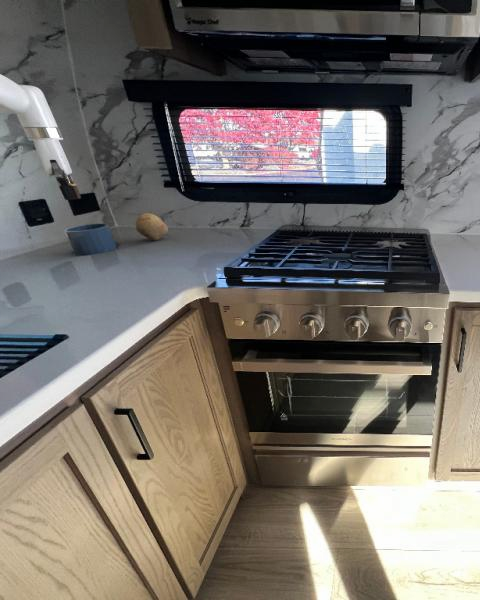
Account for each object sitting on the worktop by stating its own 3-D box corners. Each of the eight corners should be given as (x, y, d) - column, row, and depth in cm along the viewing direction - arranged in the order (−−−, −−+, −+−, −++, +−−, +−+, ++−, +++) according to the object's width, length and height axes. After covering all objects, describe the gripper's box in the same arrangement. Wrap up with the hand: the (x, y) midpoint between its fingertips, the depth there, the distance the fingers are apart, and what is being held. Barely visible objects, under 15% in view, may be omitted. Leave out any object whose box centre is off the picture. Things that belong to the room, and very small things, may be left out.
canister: (73, 257, 107) (61, 233, 104) (77, 249, 115) (67, 226, 112) (116, 251, 113) (106, 227, 109) (118, 243, 121) (108, 221, 118)
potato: (136, 241, 123) (125, 214, 118) (161, 235, 130) (152, 209, 125) (149, 244, 119) (138, 216, 114) (174, 238, 126) (165, 211, 121)
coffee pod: (63, 200, 103) (56, 185, 101) (65, 198, 107) (59, 184, 105) (81, 198, 106) (75, 184, 104) (83, 197, 109) (77, 183, 107)
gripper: (33, 135, 102) (62, 196, 110) (19, 134, 90) (52, 203, 98) (65, 134, 106) (91, 193, 114) (56, 134, 94) (85, 200, 102)
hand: (73, 197), depth 106 cm, fingers closed on coffee pod, 4 cm apart
